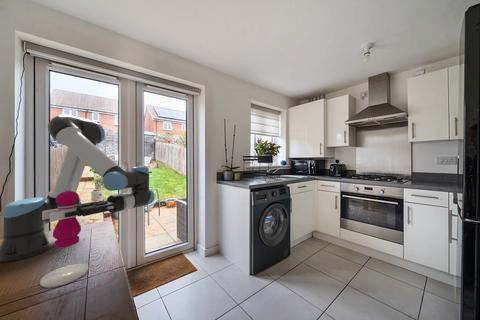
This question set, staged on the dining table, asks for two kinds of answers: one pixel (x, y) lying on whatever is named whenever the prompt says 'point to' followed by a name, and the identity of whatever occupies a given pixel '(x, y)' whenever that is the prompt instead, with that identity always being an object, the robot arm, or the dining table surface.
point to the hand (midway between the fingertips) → (46, 216)
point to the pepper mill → (67, 220)
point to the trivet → (64, 275)
